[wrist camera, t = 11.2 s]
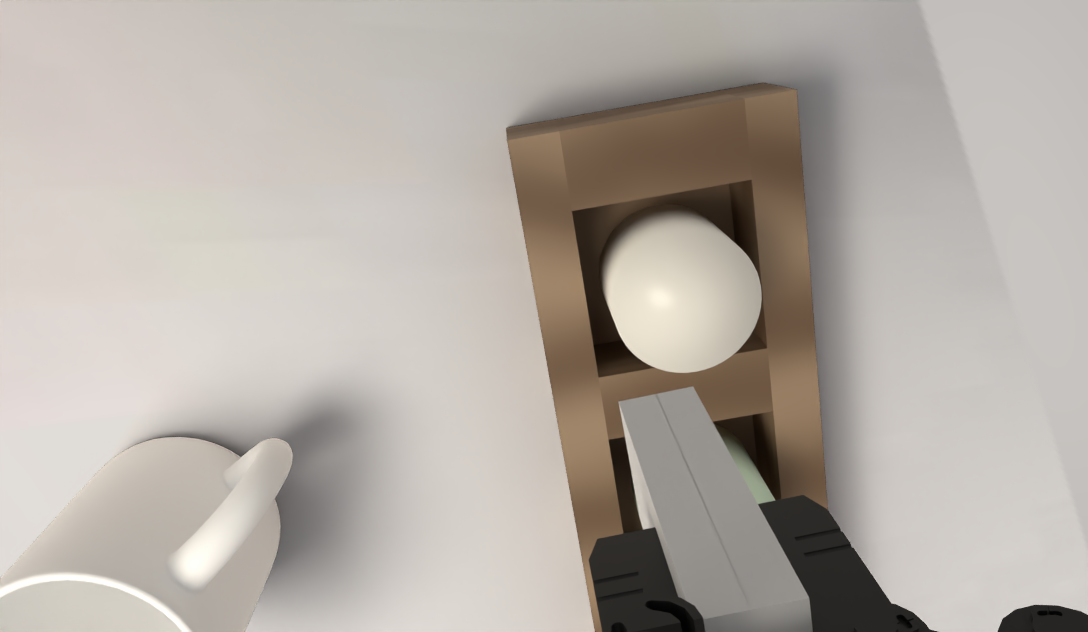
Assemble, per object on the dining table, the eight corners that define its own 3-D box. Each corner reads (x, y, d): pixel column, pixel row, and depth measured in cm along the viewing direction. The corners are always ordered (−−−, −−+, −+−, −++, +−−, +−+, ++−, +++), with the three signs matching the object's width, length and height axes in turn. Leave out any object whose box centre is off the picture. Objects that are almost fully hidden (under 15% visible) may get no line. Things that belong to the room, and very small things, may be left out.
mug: (239, 333, 36) (141, 448, 26) (385, 465, 38) (345, 617, 28) (50, 513, 38) (-106, 682, 28) (199, 629, 40) (101, 823, 30)
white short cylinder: (589, 216, 33) (602, 243, 28) (722, 193, 33) (754, 217, 28) (608, 340, 34) (623, 384, 30) (734, 319, 34) (768, 359, 30)
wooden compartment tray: (506, 127, 34) (507, 140, 30) (763, 82, 34) (796, 89, 30) (615, 739, 43) (626, 808, 39) (816, 705, 43) (847, 770, 39)
